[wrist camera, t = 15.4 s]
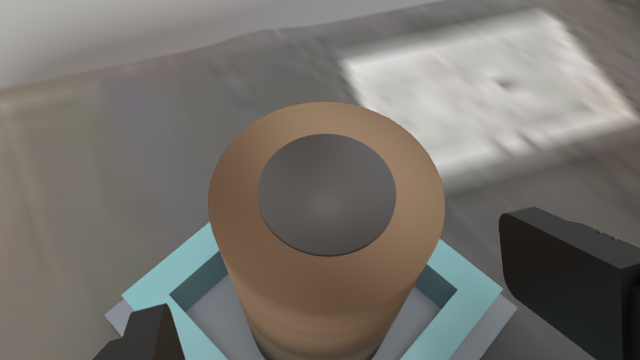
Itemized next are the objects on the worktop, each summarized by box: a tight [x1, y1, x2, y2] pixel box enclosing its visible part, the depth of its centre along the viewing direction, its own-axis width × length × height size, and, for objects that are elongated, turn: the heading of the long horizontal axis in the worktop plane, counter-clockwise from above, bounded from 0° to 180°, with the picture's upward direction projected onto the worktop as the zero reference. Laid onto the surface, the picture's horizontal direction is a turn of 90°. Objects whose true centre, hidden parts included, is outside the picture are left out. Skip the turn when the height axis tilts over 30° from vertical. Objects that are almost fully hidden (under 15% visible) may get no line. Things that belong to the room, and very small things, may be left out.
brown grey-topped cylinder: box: [208, 102, 445, 360], centre depth 16 cm, size 6×6×10 cm
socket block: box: [105, 222, 517, 360], centre depth 19 cm, size 12×12×4 cm
